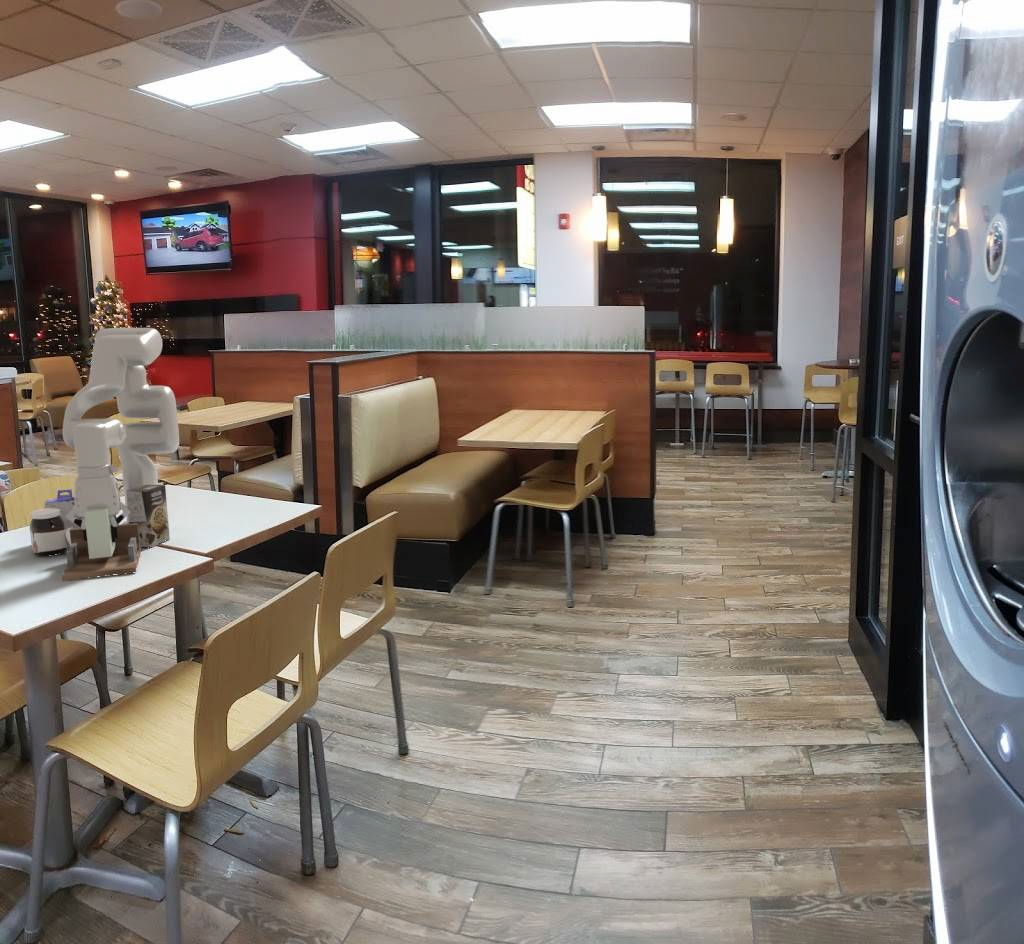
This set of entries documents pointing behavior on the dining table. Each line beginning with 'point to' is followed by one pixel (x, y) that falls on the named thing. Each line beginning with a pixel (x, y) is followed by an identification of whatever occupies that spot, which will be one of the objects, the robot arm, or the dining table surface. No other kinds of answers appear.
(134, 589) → the dining table surface
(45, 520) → the spread jar
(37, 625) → the dining table surface
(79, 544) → the shelf
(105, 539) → the pale green box
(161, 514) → the coffee box
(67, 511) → the ink cartridge box
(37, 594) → the dining table surface
